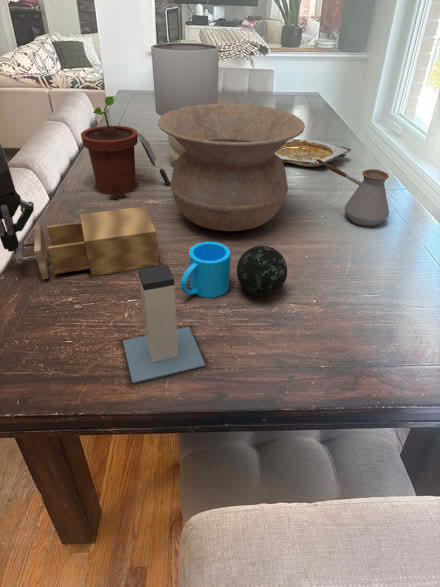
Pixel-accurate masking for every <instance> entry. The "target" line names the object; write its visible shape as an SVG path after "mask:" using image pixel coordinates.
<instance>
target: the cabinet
mask: <svg viewBox="0 0 440 587" xmlns="http://www.w3.org/2000/svg"><path fill="white" fill-rule="evenodd" d="M79 217H80V222H81V224H82V230H83V235H84V241H85V246H86V251H87V256H88V261H89V266H90V269H89V272H90V275H91V277H97V276H102V275H109V274H114V273H120V272H125V271H132V270H138V269H143V268H149V267H155V266H160V261H159V252H158V251H159V249H158V238H157V237H158V236H157V230H156V228H155V226H154V224H153V221H152V219H151V217H150V215H149V212H148V210H147V209H146V206H145V205H144V206H137V207H129V208H120V209H113V210H104V211H97V212H96V211H95V212H90V213H89V212H88V213H81V214H79Z"/></svg>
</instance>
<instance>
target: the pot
mask: <svg viewBox="0 0 440 587" xmlns="http://www.w3.org/2000/svg"><path fill="white" fill-rule="evenodd" d="M157 126H158V128H159V129H160V130H161V131H162V132H163V133H165V134H166V135H167V136H168V135H171V136H173V137H174V138H175V139H176V140H177V141H178V142H179V143H180V144H181V146H182V147H183V148H184V149H185V150H186V151H185V152H184V153H183V154H182V155H181V156H179V158H178V160H177V162H176V164H175V166H174V165H173V170H172V174H171V180H170V190H171V192H172V196H173V199H174V202H175V204H176V206H177V208H178V210H179V211H180V213H181V214H182V215H183V216H184V217H185V218H186V219H188V220H189V221H190V222H192V223H194V224H195V225H197V226H199V227H202V228H205V229H208V230H209V229H210V230H214V231H222V232H238V231H239V232H240V231H241V232H242V231H246V230H247V231H248V230H252V229H255V228H258V227H260V226H262V225H264V224H265V223H267V222H269V221H270V220H272V219H273V218H274V217H275V216H276V215H277V213H278V212H279V211H280V210H281V207H282V205H283V203H284V200H285V198H286V196H287V194H288V190H289V189H288V188H289V186H288V181H287V180H288V179H287V172H286V167H285V164H284V163H283V162H282V161H281V159H280V158H279V157H278V156H277V155H276V154H275V152H276V151H277V150H278V149H279V148H281V147H282V146H283V145H284V144H285V143H286V142H287V141H288V140H290V139H296V138H297V137H298V136H299V137H300V135H301V134H303V133H304V131H305V128H306V125H305V122H304V121H303V120H302V119H301V118H300V117H298V116H296V115H295V114H293V113H290V112H287V111H285V110H280V109H277V108H274V107H273V108H272V107H268V106H262V105H256V104H255V105H254V104H245V103H242V104H241V103H218V104H204V105H194V106H188V107H183V108H179V109H175V110H172V111H169V112H167V113H165V114H164V115H162V116H161V115H160V117H159V118H158V120H157Z"/></svg>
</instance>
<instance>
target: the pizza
mask: <svg viewBox="0 0 440 587" xmlns="http://www.w3.org/2000/svg"><path fill="white" fill-rule="evenodd" d="M286 147H299V148H286ZM282 148H286V149H282ZM303 148H305V149H303ZM280 149H281V150H280ZM278 150H280V151H278ZM278 150H277V151H278V152H277V151H276V152H275V154H276V155H277V156H278V157H279V158H280V159H281V161H282V163H283V164H284V163H285V164H287V163H288V164H291V165H296V166H297V165H298V166H301V167H311V168H313V167H319V166H323V165H322V164H320V163H318V162H317V163H316V165H315V166H314V164H315V162H316V160H317V159H320V160H322V161H323V162H326V163H327V164H329V163H330V162H332V161H333V160H334V159H336V158H344V157H346V156H347V154H348V153H350V152H351V151H352V150H351V148H348V147H345V146H343V145H340V144H335V143H331V142H327V141H323V140H319V139H304V138H303V139H301V138H292V139H290V140H288V141H287V142H286V143H285V144H284V145H283V146H282V147H281V148H279V149H278Z"/></svg>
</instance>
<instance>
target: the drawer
mask: <svg viewBox="0 0 440 587" xmlns="http://www.w3.org/2000/svg"><path fill="white" fill-rule="evenodd" d="M46 228H47V232H48V237H49V240H50V243H51V245H49V246H48V245H47V244H46V240H45V236H44V233H43V229H42V224H34V238H33V239H34V240H33V241H30V242H23V241H19V246H18V248H16V251H15V263H16V264H19V265H20V264H21V265H22V264H23V263H24V262H26V261H34V260H36V263H37V266H38V269H39V272H40V276H41V279H42V280H46V279H47V280H48V279H49V258H50V262H51V266H52V269H53V273H54V275H59V274H64V273H71V272H77V271H83V270H90V266H89V261H88V256H87V251H86V246H85V241H84V235H83V230H82V224H81V221H75V222H66V223H59V224H52V225H51V224H50V225H46ZM25 247H33V252H34V255H30V256H25Z"/></svg>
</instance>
